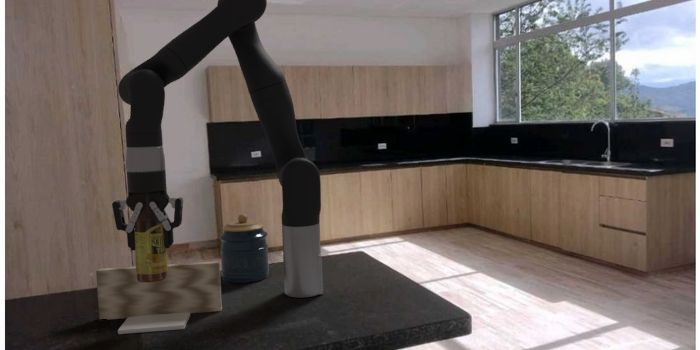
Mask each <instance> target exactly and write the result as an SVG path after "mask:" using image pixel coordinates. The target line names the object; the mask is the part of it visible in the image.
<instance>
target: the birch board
mask: <svg viewBox="0 0 700 350" xmlns="http://www.w3.org/2000/svg"><path fill="white" fill-rule="evenodd" d="M167 266H168V270H167V277H166V278H165V279H164V280H161V281H156V282H149V283H147V282H139V281H138V280H137V273H136V266H122V267H121V266H120V267H108V268H107V267H105V268H98V269H96V270H95V273H96V277H95V278H96V287H97V301H98V304H97V305H98V317H99V320H100V319H107V320H118V319H119V320H120V319H127V318H128V317H133V316H146V315H159V314H173V313H186V312H190V314H196V313H197V314H199V313H209V312H222V310H223V303H222V285H221V269H220V268H221V266H220V261H219V260H217V261H215V260H214V261H204V262H203V261H202V262H200V261H199V262H188V263H187V262H186V263H185V262H184V263H171V264H170V263H169V264H168V263H167Z"/></svg>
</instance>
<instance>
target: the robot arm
mask: <svg viewBox="0 0 700 350" xmlns="http://www.w3.org/2000/svg"><path fill="white" fill-rule="evenodd" d="M267 2H268V1H267V0H217V4H216V7H214V8H213V9H212V10H211V11H210V12H209V13H208V14H206V15H204V17H202V18H201V19H200V20H198V21H196V22H195V23H194V24H192V25H191V26H190V27H188V28H186V29H185V30H184V31H182V32H181V33H179V34H178V35H177V36H175V37H174V38H173V39H171V40H170V41H168V42H167V44H165V45H164V46H163V47H161V48H160V49H159V50H158V51H157V52H156V53H155V54H154V55H153V56H151V57H150V58H148V59H147V60H145V61H143V62H142V63H140V64H139V65H137V66H136V67H133V68H132V69H131V70H129V71H128V72H127V73H126V74H124V76H123V77H122V78H121V79H120V81H119V83H118V87H117V88H118V89H117V92H118V95H119V97H120V99H121V100H122V101H123V102H124V103H125V104H126V105H129V106H130V108H129V109H130V114H129V118H128V120H127V121H125V122H126V123H125V126H124V127H125V129H124V130H125V132H124V133H125V144H126V148H125V149H126V151H125V152H126V153H125V154H126V155H125V170H126V181H127V182H126V183H127V184H126V185H127V198H125V199H123V200H121V199H120V200H119V199H118V200H115V201H113V202H112V204H111V207H112V211H113V216H114V222H115V228H116V230H118V231H123V232H125V233H126V239H127V241H126V242H127V247H128V248H129V249H130V250H131V251H135V237H134V231H135V222H136V220H137V218H138V216H139V214H140V212H141V210H142V208H143V202H142V194H143V193H151V194H152V199H153V201H152V202H150V204H149V205H150V207H151V209H152V210H153V211H154V213H155V215H156V216H157V218H158V219H159V221H160V222H162V225H163V226H164V228H165V229H166V230H165V231H164V234H165V248H167V249H170V248H171V246H172V245H174V244H173V243H174V229H176V228H179V227H180V226H181V225H182V223H183V222H182V220H183V208H184V207H183V205H184V199H183V197H181V196H180V197H176V198H175V197H170V196H169V194H168V187H167V175H166V174H167V173H166V159H165V153H164V147H163V146H164V144H163V143H164V142H163V131H162V122H163V118H164V110H165V104H166V103H165V100H166V91H165V90H166V89H165V88H166V87H167V86H168V85H169V84H171V83H175V82H176V81H179V80H180V79H182V78H183V77H184V76H185V75H187V74H188V73H189V72H190V71H192V70H193V69H194V68H195V67H196V66H197V65H198V64H199V63H201V62H202V61H203V60H204V59H205V58H206V57H207V56H208V55H209V54H210V53H212V51H213V50H214V49H215V48H217V46H219V45H220V44H221V43H222V42H223V41H225V40H226V39H227V38H228V39H229V41H230V43H231V46H232V48H233V50H234V53H235V56H236V58H237V61H238V64H239V67H240V69H241V73H242V76H243V78H244V81H245V84H246V87H247V91H248V94H249V96H250V99H251V102H252V105H253V108H254V110H255V113H256V115H257V118H258V121H259V122H260V126H261V127H262V129H263V132H264V133H265V136H266V138H267V140H268V143H269V145H270V149H271V151H272V156H273V160H274V163H275V168H276V173H277V177H278V182H279V184H280V186H281V193H282V194H281V195H282V196H281V197H282V199H281V200H282V210H281V231H282V232H281V234H282V235H281V237H282V255H283V256H282V258H283V280H284V281H283V284H284V285H283V286H284V295H286V296H287V297H289V298H290V297H292V298H310V297H315V296H318V295H323V294H324V283H323V257H322V254H321V253H322V251H321V224H320V222H321V221H320V217H321V210H322V195H321V194H322V193H321V192H322V191H321V190H322V189H321V188H322V187H321V186H322V185H321V174H320V170H319V168H318V166H317V165H316V164H315V163H314V162H313V161H311V160H309V159H308V156H307V154H306V152H305V150H304V148H303V146H302V143H301V140H300V137H299V134H298V129H297V128H298V127H297V122H296V121H297V120H296V114H295V113H296V112H295V106H294V103H293V99H292V98H293V97H292V95H291V92H290V88H289V86H288V82H287V79H286V77H285V75H284V73H283V72H282V70H281V68H280V67H279V65H278V64H277V63H276V61H274V60H273V59H272V57H271V56H270V55H269V54H268V52H267V51H266V49H265V47H264V45H263V44H262V41H261V39H260V35H259V32H258V30H257V26H256V22H257V21H259V20H260V19H261V17H262V16H263V15H264V14H265V12H266V9H267V4H268V3H267ZM169 204H170V205H171V207H172V208H173V209H174V212H173V213H174V216H173V221H171V219H170V218H169V215H168V213H167V212H166V210H165V209H166V207H168V205H169ZM126 206H127V207H128V208H129V209H130V210H131V211H132V213H131V216H130V217H129V221H128V223H127V222H126V219H125V214H124V211H125V209H126Z"/></svg>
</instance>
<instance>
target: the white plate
mask: <svg viewBox="0 0 700 350" xmlns="http://www.w3.org/2000/svg"><path fill="white" fill-rule="evenodd" d="M190 317H191V313H190V312H186V313H173V314H159V315H146V316H133V317H128V318H125V320H124V322H123V323H122V324H121V325H120V327H119V328H118V330H117V334H118V335H123V334H124V335H125V334H127V335H128V334H137V333H138V334H139V333H149V332H162V331H175V330H176V331H177V330H185V328H186V326H187V324H188V322H189V319H190Z"/></svg>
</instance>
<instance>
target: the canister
mask: <svg viewBox="0 0 700 350" xmlns="http://www.w3.org/2000/svg"><path fill="white" fill-rule="evenodd" d="M264 227H265V224H263V223H261V222H260V221H259V220H255V219H248V215H247V214H246V213H241V214H239V215H238V217H237V220H233V221H229V222H227V223H226V224H225V225H223V226H222V229H221V230H222V231H223V233H221V234H220V236H219V239H220V240H221V247H220V259H221V269H220V276H221V277H222V280H223V281H225V282H226V283H227V282H228V283H232V284H233V283H234V284H246V283H253V282H258V281H261V280H265V279H266V278H267V277H269V272H270V266H269V251H268V249H269V248H268V247H269V244H268V243H267V239H266V238H267V236H268V232H266V231H265V230H264V229H263V228H264Z"/></svg>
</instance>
